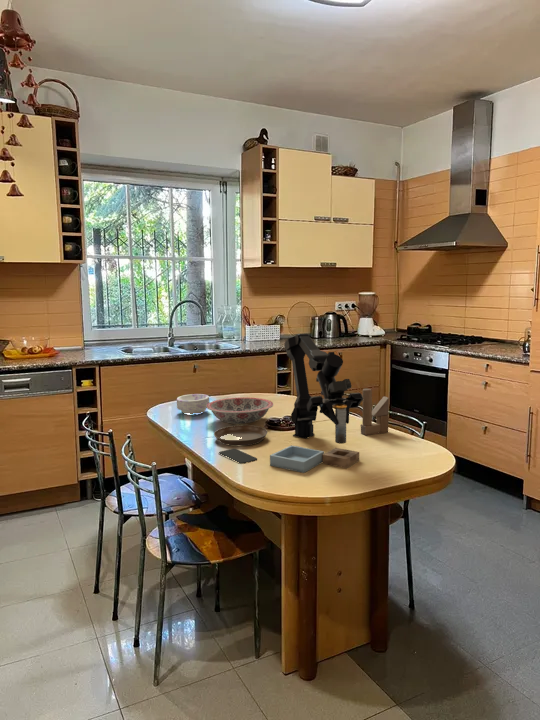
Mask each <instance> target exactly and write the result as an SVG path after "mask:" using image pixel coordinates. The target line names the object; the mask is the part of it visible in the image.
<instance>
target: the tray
mask: <svg viewBox="0 0 540 720" xmlns="http://www.w3.org/2000/svg"><path fill="white" fill-rule="evenodd" d="M323 454H325V451H324V450H318V449H313V448H309V447H302V446H297V445H289V446H287V447H284V448H283V449H281V450H278V451H276V452H274V453H272V454H269V466H271V467H275V468H281V469H284V470H289V471H293V472H298V473H302V474H304V473H306V472H308V471H310V470H312V469H313V468H315V467H317V466H318V465H320V464H323Z"/></svg>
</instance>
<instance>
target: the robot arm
mask: <svg viewBox="0 0 540 720" xmlns="http://www.w3.org/2000/svg"><path fill="white" fill-rule="evenodd" d="M283 344H284V350H285V353H286V356H287V357H288V358H289V359H290V361H291V363H292V369H293V377H294V383H295V384H294V385H295V390H296V399H295V401H294V405H293V407H294V408H293V410H292V412H291V415H290V416H291V417H290V418H291V421H293V422H294V434H292V437H295V438H301V439H309V438H310V437H311V438H312V437H313V436H315V433H314V423H313V421H314V422H316V421H317V414H318V410H319V413H320V414H323V415H324V416H325V417H326V418H328V419H329V420H330V421H331V422H332V423H333V424H334V425H337V424H338V421H337V418H336V415H335V409H334V408H333V406H335V405H336V404H346V405H347V407H346V425H348V424H349V423H350V409H355V408H356V409H357V408H358V407H359V406H360V405H361V403H363V393H361V392H352V393H349V394H348V396H347V397H343V396H345V392H346V391H348V390H350V389H352V382H351V380H350V378H344V379H343V380H338V381H337V379H336V377H337V375H338V374H339V372H340V371H341V368H342V367H343V364H344V359H343V358H342V357H341V356H340V355H338V354H335V351H329V352H326V351H324V350H320V348H319V347H318V346H317V344H316V343H315V342H314V341H313V339H312V338H311V335H310V334H309V333H297V334H295V336H292V337H289V338H287V339H286V340H285V341H284V343H283ZM306 356H307V357H308V365H309V368H310V370H312V372H318V373H316V381H315V382H317V383H318V384H319V386H320V390H321V391H320V394H321V395H315V396H311V395H310V393H309V391H310V390H309V385H308V377H307V372H306V364H305V359H304V358H305V357H306Z"/></svg>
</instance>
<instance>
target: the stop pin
mask: <svg viewBox="0 0 540 720" xmlns="http://www.w3.org/2000/svg"><path fill="white" fill-rule="evenodd" d="M346 407H347V405H346V404H336V405H334V408H335V409H334V413H335V415H336V418H337V421H338V424H337V425H335V424H334V425H335V430H334V432H335V433H334V436H335V441H334V442H335V443H336V444H338V445H339V444H346V443H347V423H346Z"/></svg>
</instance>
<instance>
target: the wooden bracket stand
mask: <svg viewBox="0 0 540 720" xmlns="http://www.w3.org/2000/svg"><path fill="white" fill-rule="evenodd" d="M362 396H363V400H362V418H361V419H362V424H360V434H362V435H364V436H371V435H375V434H376V435H377V434H385V433H386V432H387V433H389V414H390V413H389V411H390V409H389V406H390V405H389V403H390V401H389V399H390V397H387V396H382V397H381V399H380V400H379V401H378V403H377V404H376V405H375V406H374V407H373V390H372V389H371V388H363V389H362ZM373 417H374V418H375V417H376V418H375V419H376V420H375V421H376V422H375V423H373Z"/></svg>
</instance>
